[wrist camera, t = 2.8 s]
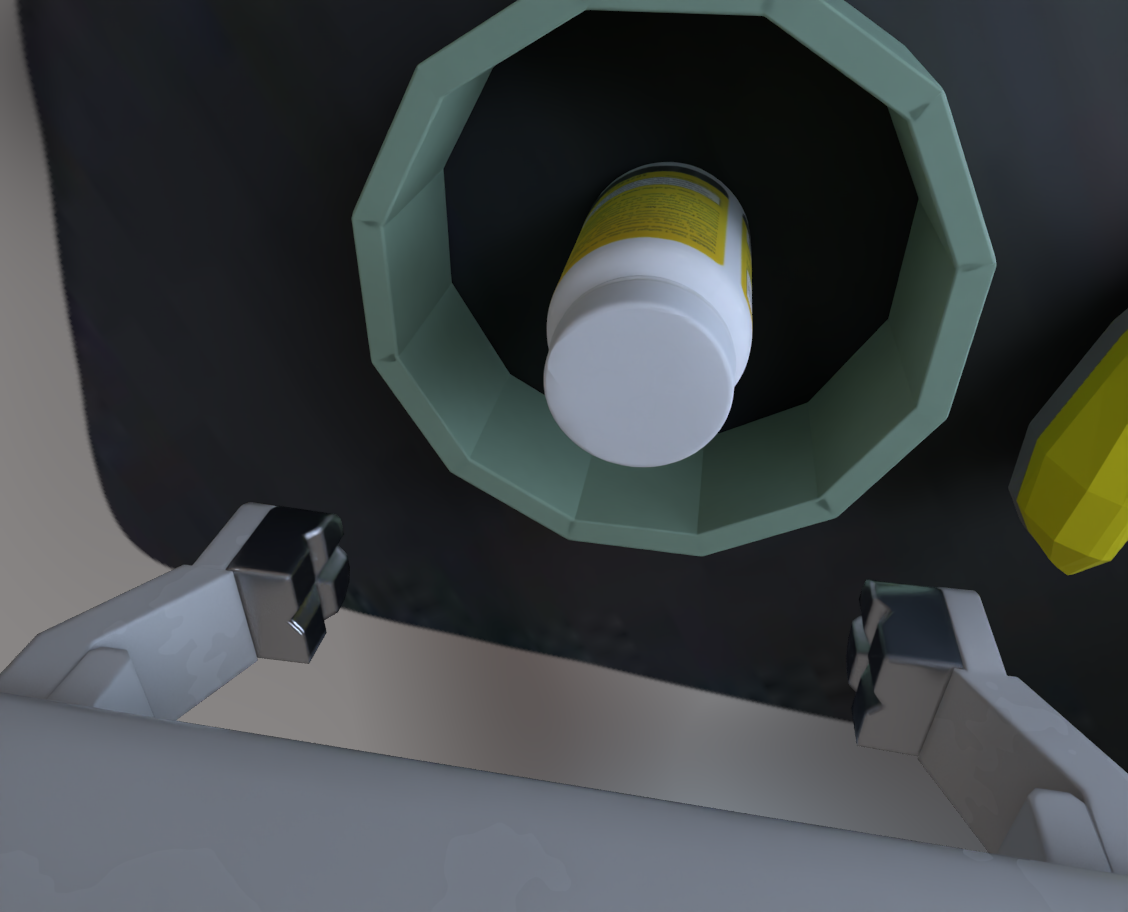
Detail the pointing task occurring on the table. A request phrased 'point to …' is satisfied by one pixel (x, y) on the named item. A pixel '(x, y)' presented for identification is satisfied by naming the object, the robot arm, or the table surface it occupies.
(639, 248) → the supplement bottle
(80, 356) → the table surface
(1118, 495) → the gaming controller
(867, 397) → the ring
